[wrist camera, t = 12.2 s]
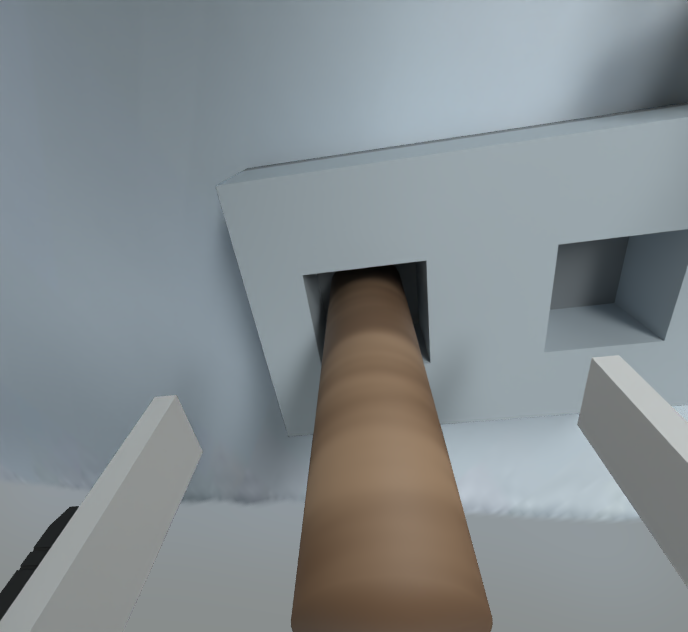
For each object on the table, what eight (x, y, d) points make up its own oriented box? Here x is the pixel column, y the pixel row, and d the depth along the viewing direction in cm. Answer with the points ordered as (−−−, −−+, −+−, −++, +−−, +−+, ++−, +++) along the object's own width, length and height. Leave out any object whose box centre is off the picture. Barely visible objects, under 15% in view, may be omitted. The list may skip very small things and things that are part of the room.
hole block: (246, 168, 20) (215, 185, 15) (706, 100, 18) (821, 97, 13) (299, 381, 26) (287, 436, 22) (637, 350, 24) (699, 403, 20)
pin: (326, 258, 21) (270, 581, 7) (399, 249, 20) (499, 569, 6) (336, 321, 23) (311, 671, 9) (403, 313, 22) (487, 666, 8)
